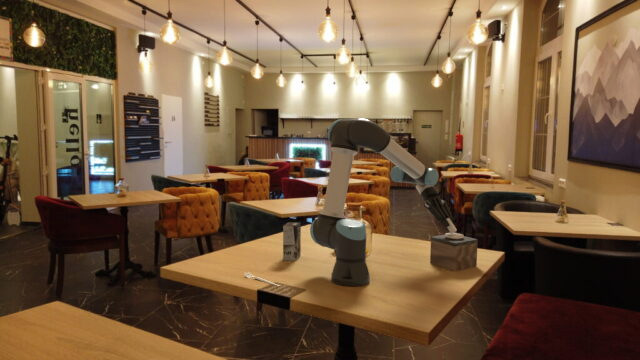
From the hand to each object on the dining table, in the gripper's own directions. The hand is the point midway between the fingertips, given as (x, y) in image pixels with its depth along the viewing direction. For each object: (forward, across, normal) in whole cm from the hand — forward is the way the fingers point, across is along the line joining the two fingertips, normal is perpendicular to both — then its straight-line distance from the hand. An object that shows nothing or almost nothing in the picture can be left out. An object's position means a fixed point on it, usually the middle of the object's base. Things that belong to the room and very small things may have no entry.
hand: (454, 231), depth 201 cm
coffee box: (-22, +57, -42) cm, 74 cm away
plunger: (+11, 0, -10) cm, 15 cm away
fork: (-6, +82, -26) cm, 86 cm away
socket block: (+11, 0, -10) cm, 15 cm away
